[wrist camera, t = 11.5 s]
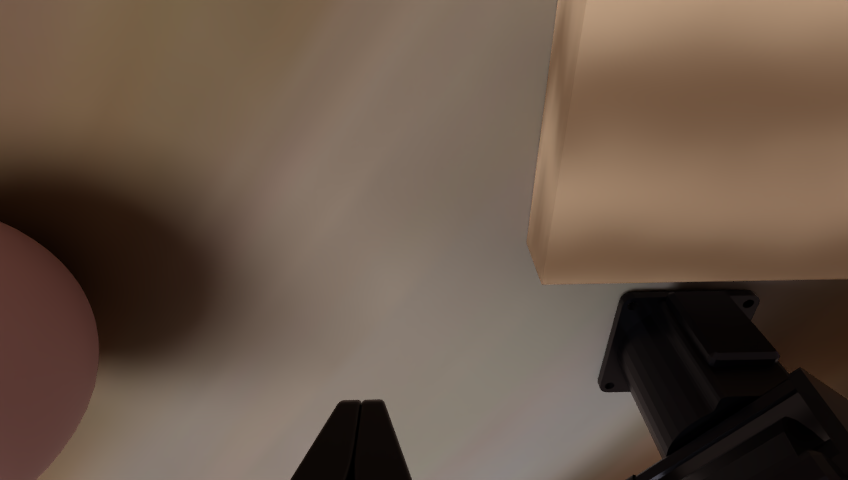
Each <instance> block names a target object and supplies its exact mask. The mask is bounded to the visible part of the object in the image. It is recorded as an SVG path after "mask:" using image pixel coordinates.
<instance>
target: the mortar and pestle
mask: <svg viewBox="0 0 848 480" xmlns="http://www.w3.org/2000/svg"><path fill="white" fill-rule="evenodd" d="M98 364H99V340H98V332H97V326H96V322H95V318H94V315H93V312H92V309H91V306H90V304H89V301H88V299H87V297H86V295H85V293H84V292H83V290H82V288H81V286H80V285H79V283H78V282H77V280H76V279H75V278H74V276H73V275H72V274H71V273H70V271H69V270H68V269H67V268H66V267H65V266H64V264H63V263H62V262H61V261H60V260H59V259H58V258H56V257H55V256H54V255H53V254H52V253H51V252H50V251H49V250H47V249H46V248H45V247H43V246H42V245H41V244H39V243H38V242H36V241H35V240H34V239H32V238H30V237H29V236H27V235H25V234H24V233H22V232H20V231H19V230H17V229H15V228H13V227H11V226H9V225H6V224H4V223H2V222H0V480H36V479H37V478H38V477H39V476H40V475H41V474H42V473H43V472H44V471H45V470H46V469H47V468H48V467H49V466H50V464H51V463H52V462H53V461H54V460H55V458H56V457H57V456H58V455H59V454H60V452H61V451H62V449H63V448H64V447H65V445H66V444H67V442H68V441H69V439H70V438H71V437H72V435H73V434H74V432H75V431H76V429H77V427H78V425H79V423H80V421H81V419H82V417H83V415H84V413H85V411H86V409H87V407H88V404H89V401H90V398H91V395H92V392H93V390H94V387H95V382H96V376H97V370H98Z"/></svg>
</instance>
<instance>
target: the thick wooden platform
mask: <svg viewBox="0 0 848 480" xmlns="http://www.w3.org/2000/svg"><path fill="white" fill-rule="evenodd" d="M527 246H528V248H529V251H530V254H531V256H532V259H533V262H534V265H535V267H536V270H537V273H538V275H539V278H540V281H541V284H542V285H545V284H599V283H654V282H709V281H764V280H818V279H848V0H558V3H557V11H556V18H555V26H554V34H553V42H552V49H551V57H550V65H549V73H548V80H547V88H546V96H545V104H544V111H543V119H542V127H541V135H540V142H539V150H538V158H537V166H536V173H535V181H534V189H533V197H532V204H531V212H530V220H529V228H528V235H527Z"/></svg>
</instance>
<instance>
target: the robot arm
mask: <svg viewBox="0 0 848 480" xmlns="http://www.w3.org/2000/svg"><path fill="white" fill-rule="evenodd" d="M759 301H760V300H759V298H758V297H757V296H756V295H755V293H754V292H752V291H750V290H727V291H673V292H631V293H627V294H625V295H623V296H622V297H621V298H620V300H619V303H618V307H617V311H616V315H615V318H614V322H613V326H612V329H611V333H610V337H609V340H608V344H607V348H606V351H605V355H604V359H603V363H602V366H601V370H600V374H599V377H598V384H599V387H600V389H601V390H602V391H604V392H631V394H632V396H633V398H634V400H635V402H636V404H637V406H638V408H639V410H640V413H641V415H642V417H643V419H644V421H645V423H646V425H647V427H648V429H649V432H650V434H651V436H652V438H653V440H654V442H655V444H656V446H657V448H658V451H659V453H660V455H661V457H662V460H660V461H658V462H657V463H655V464H654V465H652V466H651V467H649V468H648V469H646V470H644V471H643V472H641V473H640V474H638V475H637V476H636V475H632V476H631V477H629V478H628V479H626V480H848V400H847V399H846V398H844V397H843V396H841V395H840V394H838V393H837V392H835V391H834V390H833V389H831V388H830V387H828V386H827V385H825V384H824V383H822V382H821V381H820V380H818V379H817V378H815V377H814V376H812V375H811V374H809V373H808V372H807V371H805V370H804V369H802V368H801V367H800V368H798V369H797V370H795V371H793V372H792V373H790V374H789V373H788V372H787V371H786V370H785V369H784V367H783V366H782V365H781V364H780V363H779V361H778V359H779V357H780V355H779V353H778V352H777V351H776V350H775V348H774V347H773V346H772V345H771V344H770V343H769V341H768V340H767V339H766V338H765V337H764V336H763V334H762V333H761V332H760V331H759V330H758V329H757V328H756V326H755V325H754V324H753V323H752V322H751V319H752V317H753V315H754V313H755V311H756V309H757V306H758V304H759ZM631 302H634V303H632V304H629V303H631ZM628 304H629V305H628ZM291 480H412V478H411V476H410V473H409V470H408V467H407V464H406V462H405V459H404V456H403V453H402V450H401V448H400V445H399V442H398V439H397V436H396V434H395V431H394V428H393V425H392V422H391V419H390V417H389V414H388V411H387V408H386V405H385V403H384V401H383V400H380V399H378V400H364V401H363V402H362V403H361V401H360V400H343V401H340V402H339V403H338V404H337V406H336V408H335V409H334V411H333V412H332V414H331V416H330V417H329V419H328V420H327V422H326V424H325V425H324V427H323V428H322V430H321V432H320V433H319V435H318V436H317V438H316V440H315V441H314V443H313V444H312V446H311V448H310V449H309V451H308V452H307V454H306V456H305V457H304V459H303V460H302V462H301V464H300V465H299V467H298V468H297V470H296V472H295V473H294V475H293V476H292V478H291Z"/></svg>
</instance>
